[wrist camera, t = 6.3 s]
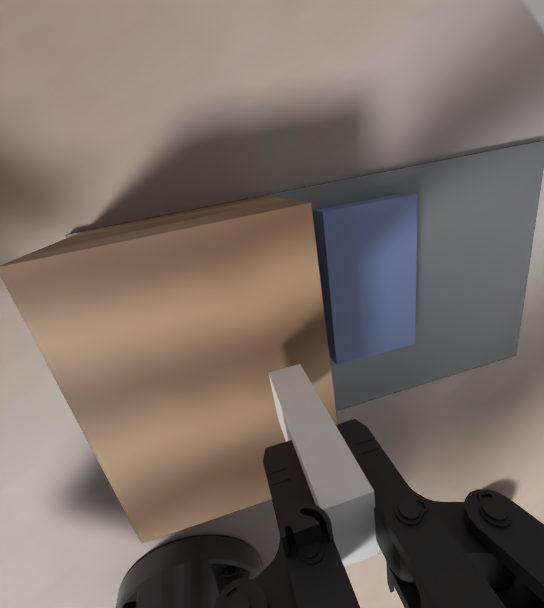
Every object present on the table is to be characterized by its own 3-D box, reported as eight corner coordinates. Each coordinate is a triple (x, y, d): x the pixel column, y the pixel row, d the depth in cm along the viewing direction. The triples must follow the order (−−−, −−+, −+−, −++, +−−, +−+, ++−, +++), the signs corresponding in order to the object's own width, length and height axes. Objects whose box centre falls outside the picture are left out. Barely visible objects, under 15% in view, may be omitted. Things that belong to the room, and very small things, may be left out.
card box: (336, 364, 25) (327, 352, 27) (414, 343, 26) (400, 333, 28) (322, 212, 21) (312, 210, 23) (417, 193, 22) (400, 193, 24)
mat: (510, 352, 33) (516, 355, 33) (162, 458, 28) (161, 464, 27) (540, 141, 25) (547, 140, 25) (68, 234, 20) (65, 235, 20)
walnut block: (296, 381, 28) (343, 475, 19) (160, 420, 27) (141, 543, 17) (263, 195, 22) (311, 202, 13) (85, 230, 21) (-5, 267, 11)
